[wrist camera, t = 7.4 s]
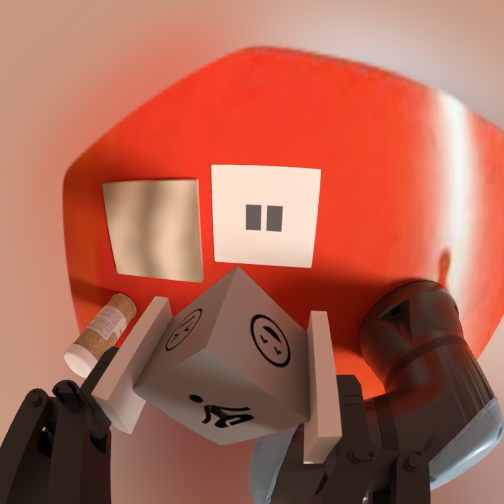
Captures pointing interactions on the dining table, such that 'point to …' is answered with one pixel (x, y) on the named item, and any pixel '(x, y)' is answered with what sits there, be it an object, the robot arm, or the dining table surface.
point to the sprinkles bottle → (100, 334)
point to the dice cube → (230, 365)
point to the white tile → (264, 214)
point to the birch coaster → (155, 228)
